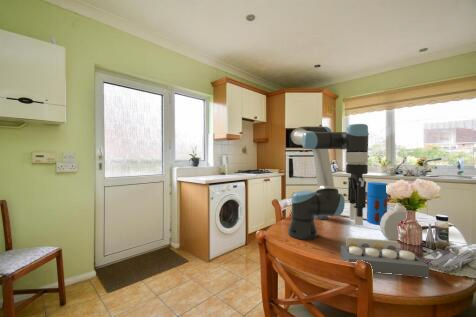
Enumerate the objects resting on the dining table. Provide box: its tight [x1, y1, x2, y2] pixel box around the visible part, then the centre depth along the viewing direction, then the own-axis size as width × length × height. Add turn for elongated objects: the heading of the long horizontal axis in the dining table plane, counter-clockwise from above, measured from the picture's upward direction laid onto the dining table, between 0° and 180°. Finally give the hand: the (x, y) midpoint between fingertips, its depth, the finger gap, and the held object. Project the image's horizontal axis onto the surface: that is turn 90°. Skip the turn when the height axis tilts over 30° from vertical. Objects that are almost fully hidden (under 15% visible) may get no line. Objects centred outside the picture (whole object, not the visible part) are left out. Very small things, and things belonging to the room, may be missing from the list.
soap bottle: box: [379, 202, 419, 241], centre depth 112 cm, size 16×5×20 cm, turn 80°
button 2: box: [365, 248, 379, 257], centre depth 86 cm, size 5×5×3 cm
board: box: [340, 245, 430, 278], centre depth 85 cm, size 26×12×4 cm, turn 78°
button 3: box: [382, 249, 397, 259], centre depth 84 cm, size 5×5×3 cm
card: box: [345, 236, 399, 250], centre depth 94 cm, size 20×1×7 cm, turn 78°
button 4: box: [399, 249, 415, 261], centre depth 83 cm, size 5×5×3 cm
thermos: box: [366, 181, 388, 226], centre depth 138 cm, size 11×11×25 cm
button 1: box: [349, 246, 362, 256], centre depth 87 cm, size 5×5×3 cm
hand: (355, 221), depth 87 cm, fingers open, 6 cm apart
